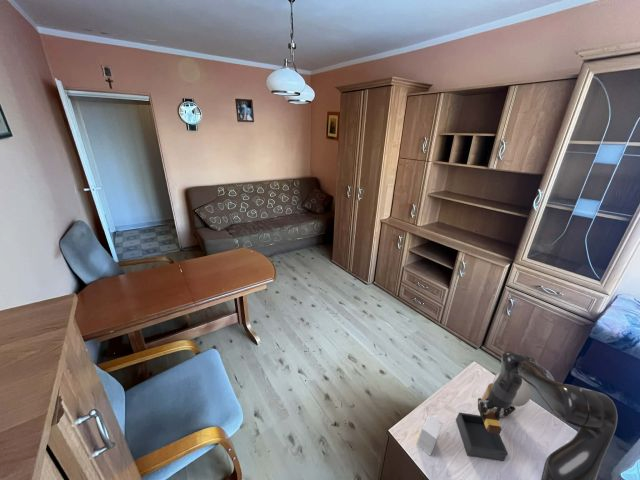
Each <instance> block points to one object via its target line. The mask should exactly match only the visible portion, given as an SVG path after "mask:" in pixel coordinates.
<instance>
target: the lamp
mask: <svg viewBox="0 0 640 480" xmlns="http://www.w3.org/2000/svg"><path fill="white" fill-rule="evenodd" d="M499 374H500V372H498V373H497V374H496V375H495V376H494V378H493V381H492V382H491V383H489V384H488V385H487V387H486V389H485V391H484V393H483V395H482V396H481V400H486V398H488V395H489V391H490V389H491V388H492V386H493V384H494V382H495V381H496V379H497V378H498V376H499ZM531 395H532V391H531V388H530V384H528V383H527V382H526V381H525V380H523V379H522V385H521V386H520V388H519V390H518V392H517V394H516V397H515V398H514V400H513V402H512V404H513V405H514V407H522V406H526V404H528V403H529V402H530V399H531ZM493 412H494V414H495V412H496V410H494V411H493ZM506 412H507V410H506ZM505 418H506V417H505V416H503V417H501V418H500V419H505Z"/></svg>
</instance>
